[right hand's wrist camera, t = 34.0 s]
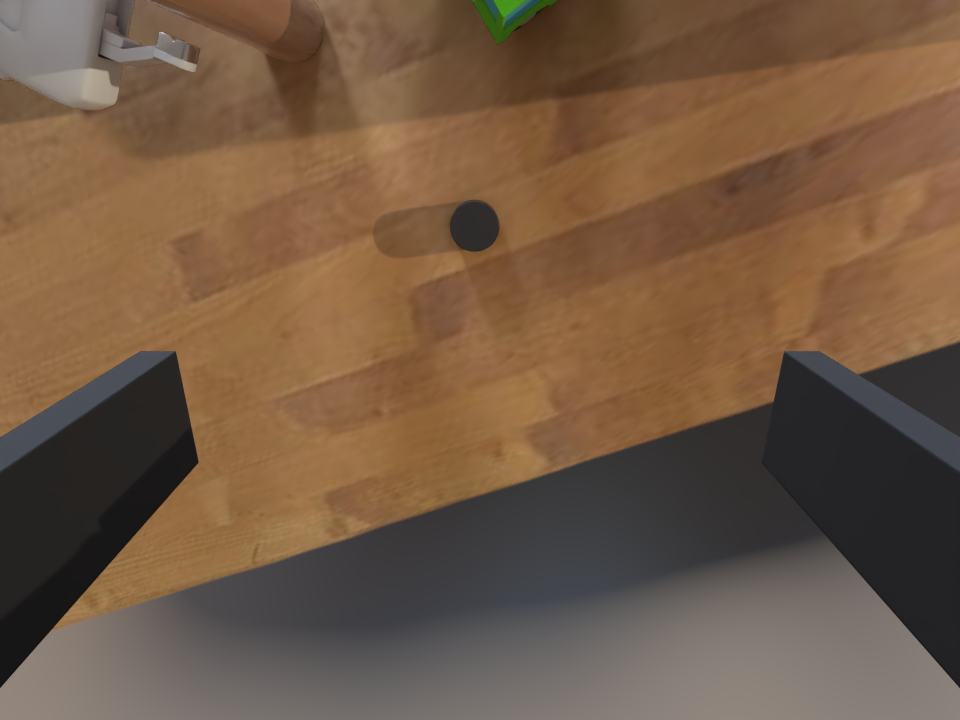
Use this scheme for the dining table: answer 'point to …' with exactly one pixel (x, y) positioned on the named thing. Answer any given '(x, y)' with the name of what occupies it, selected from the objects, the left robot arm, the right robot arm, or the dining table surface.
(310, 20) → the bottle
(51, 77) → the left robot arm
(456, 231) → the cap
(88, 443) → the right robot arm
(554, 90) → the dining table surface
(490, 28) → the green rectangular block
